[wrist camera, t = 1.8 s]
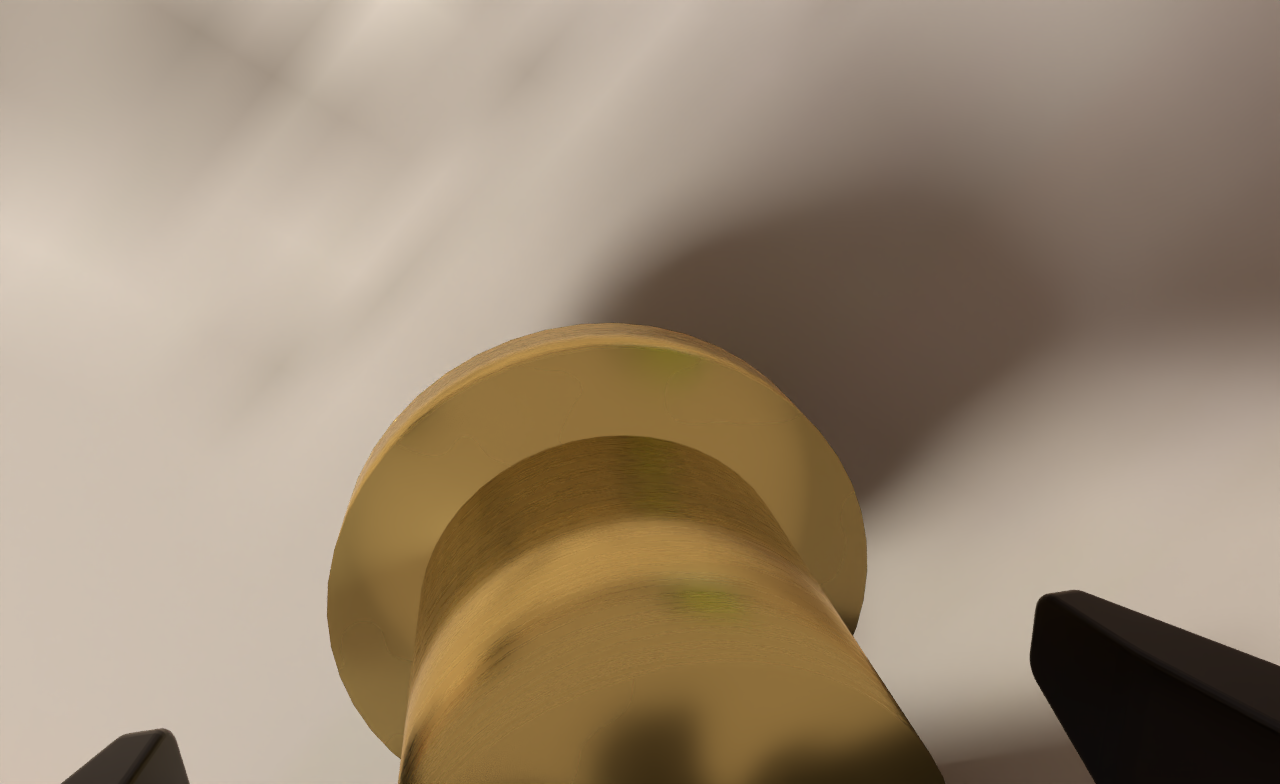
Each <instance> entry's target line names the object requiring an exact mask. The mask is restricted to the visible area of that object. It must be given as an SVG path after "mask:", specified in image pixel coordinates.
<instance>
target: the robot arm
mask: <svg viewBox="0 0 1280 784" xmlns="http://www.w3.org/2000/svg"><path fill="white" fill-rule="evenodd" d="M1030 666H1031V670H1032V673H1033V675H1034V678H1035V680H1036V682H1037V684H1038V685H1039V687H1040V689H1041V691H1042V692H1043V694H1044V696H1045V697H1046V699H1047V701H1048V703H1049V704H1050V706H1051V708H1052V709H1053V711H1054V713H1055V715H1056V716H1057V718H1058V720H1059V721H1060V723H1061V725H1062V727H1063V728H1064V730H1065V732H1066V733H1067V735H1068V737H1069V739H1070V740H1071V742H1072V744H1073V745H1074V747H1075V749H1076V751H1077V752H1078V754H1079V756H1080V758H1081V759H1082V761H1083V763H1084V764H1085V766H1086V768H1087V770H1088V771H1089V773H1090V775H1091V776H1092V778H1093V780H1094V782H1095V783H1096V784H1280V666H1278V665H1276V664H1273V663H1271V662H1268V661H1265V660H1263V659H1260V658H1257V657H1255V656H1252V655H1249V654H1247V653H1244V652H1242V651H1239V650H1236V649H1234V648H1231V647H1228V646H1226V645H1223V644H1220V643H1218V642H1215V641H1212V640H1210V639H1207V638H1205V637H1202V636H1199V635H1197V634H1194V633H1191V632H1189V631H1186V630H1183V629H1181V628H1178V627H1176V626H1173V625H1170V624H1168V623H1165V622H1162V621H1160V620H1157V619H1154V618H1152V617H1149V616H1147V615H1144V614H1141V613H1139V612H1136V611H1133V610H1131V609H1128V608H1125V607H1123V606H1120V605H1117V604H1115V603H1112V602H1110V601H1107V600H1104V599H1102V598H1099V597H1096V596H1094V595H1091V594H1088V593H1086V592H1083V591H1080V590H1069V591H1062V592H1056V593H1049V594H1045V595H1043V596H1042V597H1041V598H1040V599H1039V600H1038V602H1037V605H1036V610H1035V617H1034V625H1033V633H1032V640H1031V648H1030ZM61 784H190V783H189V780H188V777H187V774H186V770H185V767H184V764H183V760H182V757H181V754H180V751H179V747H178V744H177V741H176V739H175V737H174V735H173V734H172V732H171V731H169V730H167V729H164V728H161V729H154V730H147V731H141V732H134V733H129V734H125V735H122V736H120V737H119V738H117V739H116V740H115V741H113V742H112V743H111V744H110V745H108V746H107V747H106V748H105V749H103V750H102V751H101V752H100V753H98V754H97V755H96V756H95V757H93V758H92V759H91V760H90V761H88V762H87V763H86V764H85V765H84V766H82V767H81V768H80V769H79V770H77V771H76V772H75V773H74V774H72V775H71V776H70V777H69V778H67V779H66V780H65V781H64V782H62V783H61Z"/></svg>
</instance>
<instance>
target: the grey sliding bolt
mask: <svg viewBox="0 0 1280 784" xmlns="http://www.w3.org/2000/svg"><path fill="white" fill-rule="evenodd" d="M866 575H867V545H866V536H865V530H864V524H863V518H862V513H861V509H860V506H859V503H858V500H857V497H856V494H855V491H854V488H853V486H852V483H851V481H850V479H849V477H848V475H847V473H846V471H845V469H844V467H843V466H842V464H841V462H840V460H839V458H838V456H837V455H836V453H835V452H834V451H833V449H832V448H831V447H830V445H829V444H828V442H827V441H826V440H825V438H824V437H823V436H822V434H821V433H820V432H819V430H818V429H817V428H816V427H815V426H814V425H813V424H812V423H811V422H810V421H809V420H808V419H807V418H806V417H805V416H804V414H803V413H802V412H801V411H800V410H799V409H798V408H797V407H796V406H795V405H794V404H793V403H792V402H791V401H790V400H789V399H788V398H787V397H786V396H785V395H784V394H783V393H782V392H781V391H780V390H779V389H778V388H777V387H776V386H775V385H774V384H773V383H772V382H771V381H770V380H769V379H768V378H767V377H765V376H764V375H763V374H761V373H760V372H759V371H757V370H756V369H755V368H753V367H752V366H751V365H749V364H748V363H747V362H745V361H744V360H742V359H740V358H738V357H736V356H735V355H733V354H731V353H729V352H727V351H725V350H724V349H722V348H720V347H718V346H716V345H713V344H711V343H708V342H705V341H703V340H700V339H698V338H695V337H692V336H690V335H687V334H684V333H679V332H675V331H670V330H666V329H662V328H657V327H653V326H644V325H633V324H623V323H601V324H579V325H573V326H567V327H561V328H554V329H548V330H544V331H540V332H537V333H533V334H530V335H527V336H523V337H520V338H516V339H513V340H510V341H508V342H505V343H503V344H501V345H499V346H496V347H494V348H492V349H489V350H487V351H485V352H482V353H480V354H478V355H476V356H474V357H473V358H471V359H469V360H468V361H466V362H464V363H463V364H461V365H459V366H458V367H456V368H454V369H453V370H451V371H449V372H448V373H446V374H445V375H443V376H442V377H441V378H440V379H438V380H437V381H436V382H435V383H433V384H432V385H431V386H430V387H428V388H427V389H426V390H424V391H423V392H422V393H421V394H419V395H418V396H417V397H416V398H415V399H414V400H413V401H412V402H411V403H410V404H409V405H408V406H407V408H406V409H405V410H404V411H403V412H402V413H401V414H400V415H399V416H398V417H397V418H396V419H395V420H394V421H393V422H392V424H391V425H390V427H389V428H388V429H387V431H386V432H385V433H384V435H383V436H382V438H381V439H380V440H379V442H378V443H377V444H376V446H375V447H374V449H373V451H372V452H371V454H370V456H369V458H368V460H367V462H366V464H365V466H364V467H363V469H362V471H361V473H360V475H359V477H358V479H357V482H356V485H355V488H354V491H353V494H352V496H351V499H350V502H349V505H348V508H347V511H346V514H345V517H344V521H343V524H342V527H341V530H340V533H339V537H338V540H337V543H336V546H335V550H334V554H333V560H332V565H331V570H330V575H329V581H328V601H327V619H328V627H329V634H330V642H331V648H332V651H333V655H334V658H335V661H336V665H337V668H338V671H339V675H340V678H341V680H342V682H343V684H344V686H345V688H346V690H347V692H348V694H349V696H350V698H351V700H352V702H353V705H354V706H355V707H356V709H357V710H358V712H359V713H360V715H361V716H362V718H363V719H364V720H365V722H366V723H367V725H368V726H369V728H370V729H371V730H372V731H373V732H374V734H375V735H376V736H377V737H378V738H379V739H380V740H381V741H382V742H383V743H384V744H385V745H386V746H387V747H388V749H389V750H390V751H391V752H392V753H394V754H395V755H396V756H397V757H399V758H400V759H401V763H400V771H399V780H398V784H945V781H944V778H943V776H942V774H941V772H940V771H939V769H938V767H937V765H936V764H935V762H934V760H933V758H932V756H931V755H930V753H929V751H928V750H927V748H926V747H925V745H924V744H923V742H922V741H921V739H920V738H919V736H918V735H917V733H916V732H915V730H914V729H913V727H912V726H911V724H910V722H909V721H908V719H907V718H906V716H905V715H904V713H903V712H902V710H901V709H900V707H899V706H898V704H897V703H896V701H895V700H894V698H893V697H892V695H891V694H890V692H889V691H888V689H887V687H886V686H885V684H884V683H883V681H882V680H881V678H880V677H879V675H878V674H877V672H876V671H875V669H874V668H873V666H872V665H871V663H870V662H869V660H868V659H867V657H866V656H865V654H864V652H863V651H862V649H861V648H860V646H859V645H858V643H857V642H856V640H855V639H854V637H853V634H854V632H855V629H856V627H857V623H858V619H859V615H860V611H861V607H862V604H863V600H864V592H865V584H866Z"/></svg>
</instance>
